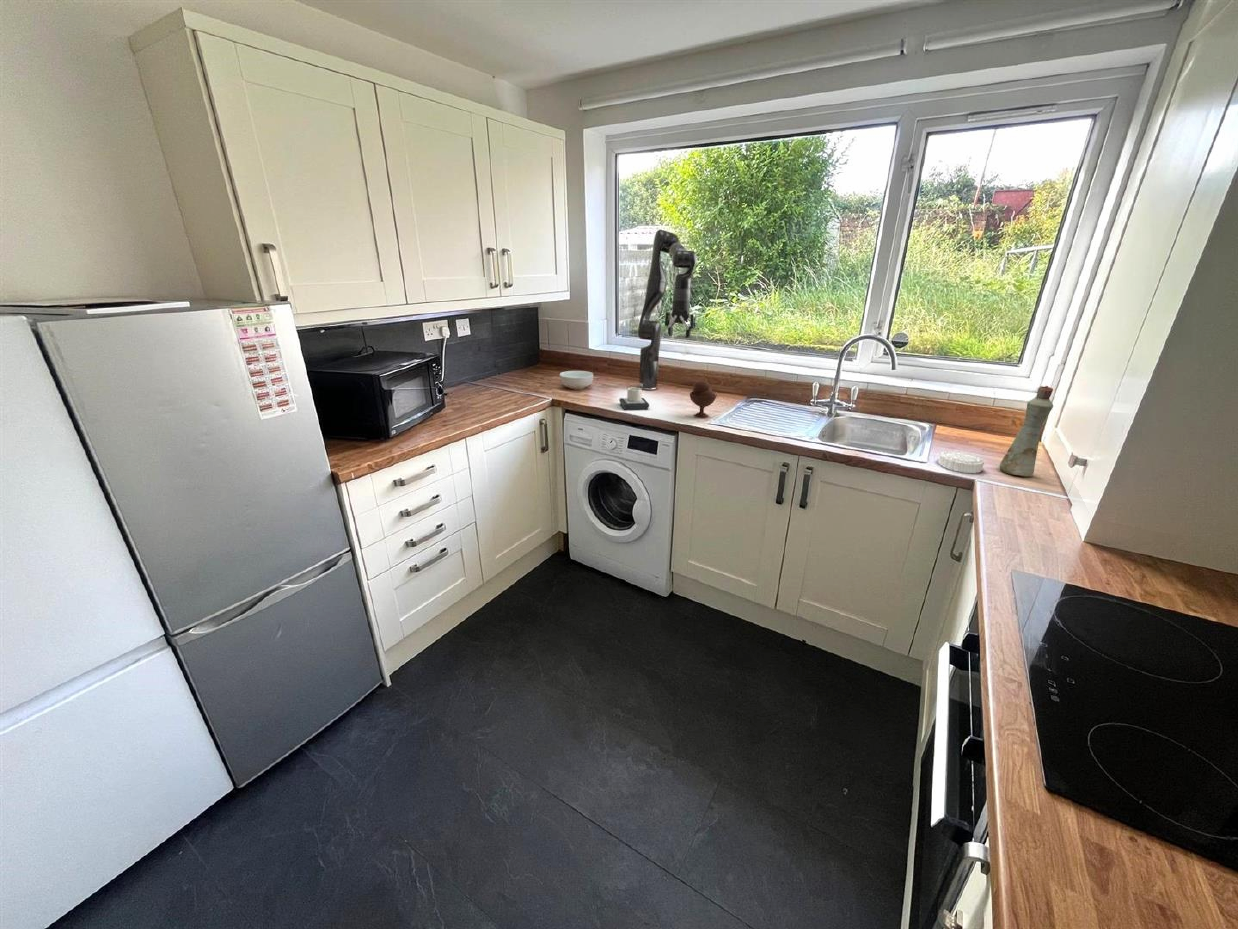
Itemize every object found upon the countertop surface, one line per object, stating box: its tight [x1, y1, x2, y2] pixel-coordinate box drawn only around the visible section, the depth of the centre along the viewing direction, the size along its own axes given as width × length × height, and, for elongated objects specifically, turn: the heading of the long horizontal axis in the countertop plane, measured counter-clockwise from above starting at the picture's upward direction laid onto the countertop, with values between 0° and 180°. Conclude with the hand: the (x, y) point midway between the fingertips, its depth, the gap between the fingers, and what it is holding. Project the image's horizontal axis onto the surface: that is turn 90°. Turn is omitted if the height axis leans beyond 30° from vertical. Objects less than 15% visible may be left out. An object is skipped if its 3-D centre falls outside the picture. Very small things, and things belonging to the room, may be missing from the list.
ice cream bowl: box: [689, 380, 718, 419], centre depth 204 cm, size 11×11×15 cm
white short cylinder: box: [626, 386, 643, 402], centre depth 216 cm, size 6×6×5 cm
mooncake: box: [937, 450, 985, 474], centre depth 160 cm, size 12×12×4 cm
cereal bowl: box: [559, 370, 594, 390], centre depth 247 cm, size 17×17×7 cm
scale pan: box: [623, 397, 645, 404], centre depth 217 cm, size 8×8×2 cm
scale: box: [619, 397, 650, 411], centre depth 218 cm, size 11×11×2 cm
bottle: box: [998, 385, 1054, 478], centre depth 152 cm, size 9×9×28 cm
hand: (678, 336), depth 226 cm, fingers open, 8 cm apart
